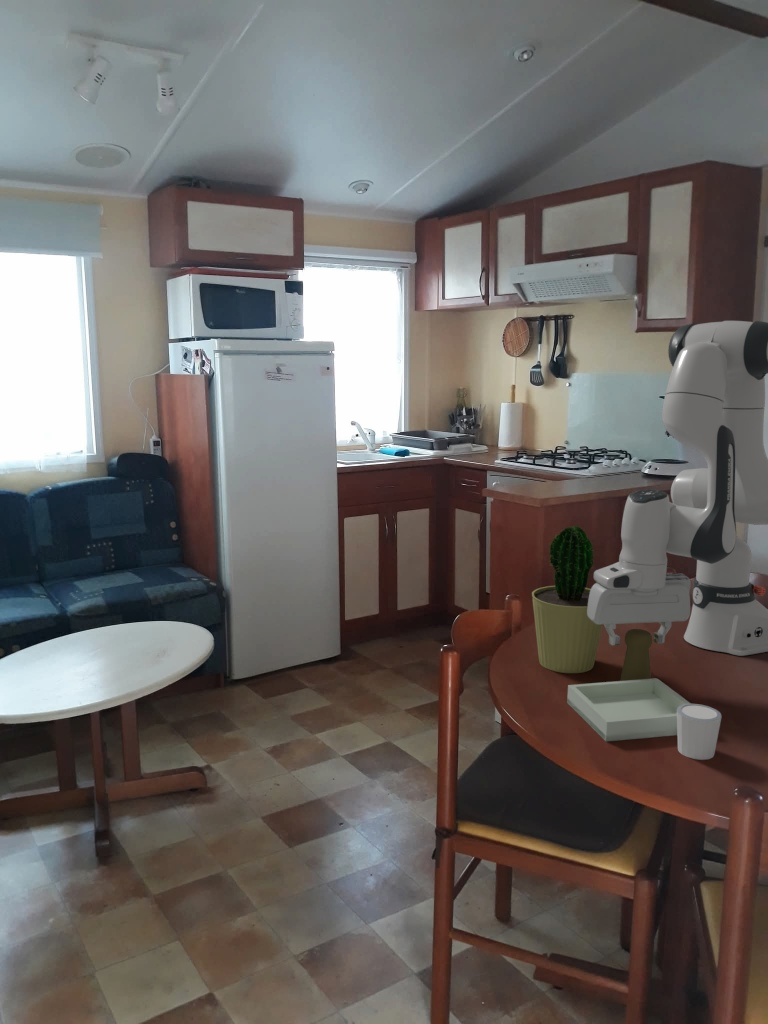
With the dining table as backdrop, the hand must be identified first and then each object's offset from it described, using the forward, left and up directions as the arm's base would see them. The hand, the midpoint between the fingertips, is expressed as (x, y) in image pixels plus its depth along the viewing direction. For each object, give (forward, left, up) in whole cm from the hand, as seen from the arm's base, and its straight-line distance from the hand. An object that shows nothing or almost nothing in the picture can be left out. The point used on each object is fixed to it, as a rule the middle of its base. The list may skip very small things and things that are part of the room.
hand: (636, 643), depth 163 cm
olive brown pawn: (-1, 0, -9) cm, 9 cm away
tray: (+7, +14, -9) cm, 18 cm away
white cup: (+3, +28, -9) cm, 29 cm away
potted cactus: (+8, -13, -9) cm, 18 cm away
